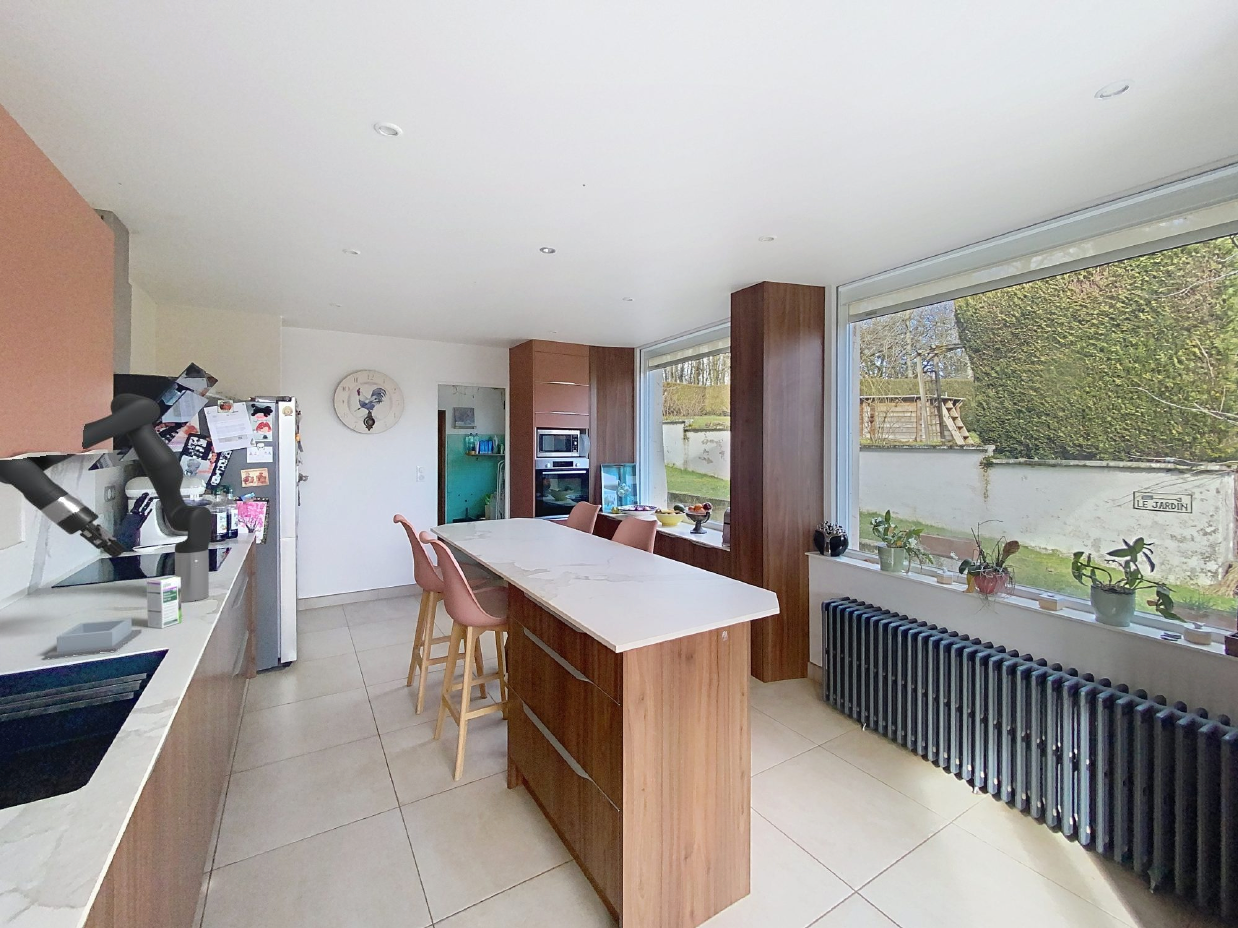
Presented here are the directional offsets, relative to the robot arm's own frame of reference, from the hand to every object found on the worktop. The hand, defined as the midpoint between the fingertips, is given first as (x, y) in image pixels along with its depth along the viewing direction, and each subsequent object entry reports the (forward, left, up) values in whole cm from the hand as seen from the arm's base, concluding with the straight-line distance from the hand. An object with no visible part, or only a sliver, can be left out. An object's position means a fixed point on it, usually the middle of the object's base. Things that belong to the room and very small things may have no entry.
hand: (121, 553), depth 152 cm
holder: (+12, -2, -23) cm, 26 cm away
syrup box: (0, +10, -23) cm, 25 cm away
